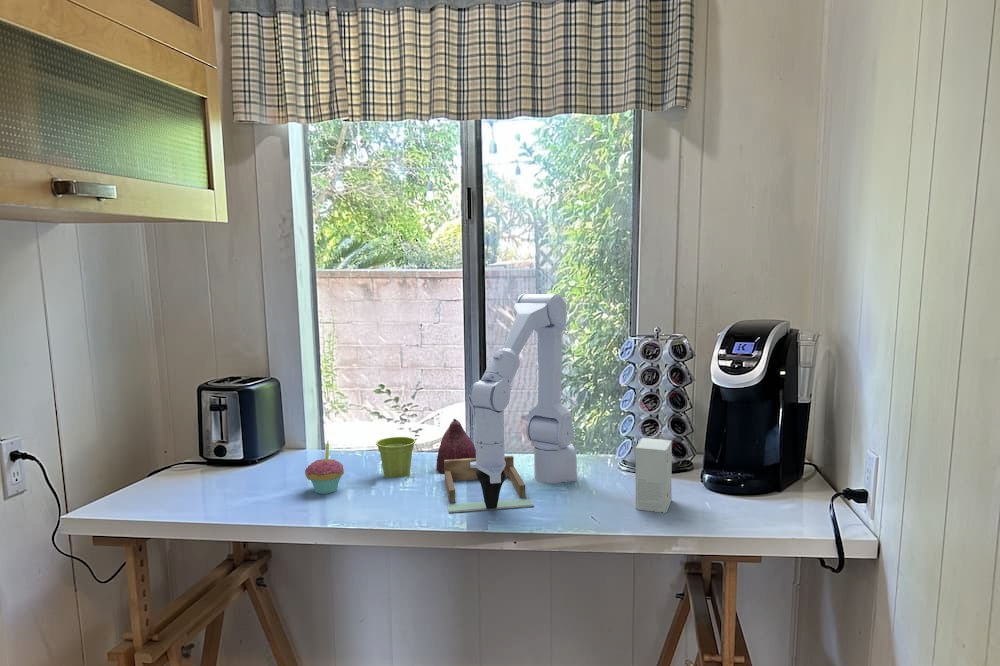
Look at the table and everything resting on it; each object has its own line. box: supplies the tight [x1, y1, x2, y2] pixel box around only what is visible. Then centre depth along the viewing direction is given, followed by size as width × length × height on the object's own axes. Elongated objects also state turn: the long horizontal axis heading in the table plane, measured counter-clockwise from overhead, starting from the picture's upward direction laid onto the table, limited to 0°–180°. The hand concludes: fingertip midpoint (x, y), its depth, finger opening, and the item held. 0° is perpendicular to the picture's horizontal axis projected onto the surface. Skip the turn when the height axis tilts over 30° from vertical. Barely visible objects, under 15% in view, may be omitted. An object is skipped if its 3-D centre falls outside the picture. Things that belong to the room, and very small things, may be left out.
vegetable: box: [435, 418, 476, 475], centre depth 154 cm, size 10×10×15 cm
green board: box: [446, 498, 535, 515], centre depth 126 cm, size 17×1×5 cm
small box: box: [634, 437, 673, 514], centre depth 128 cm, size 8×6×13 cm
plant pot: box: [375, 436, 416, 479], centre depth 150 cm, size 9×9×9 cm
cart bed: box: [444, 455, 527, 504], centre depth 136 cm, size 16×16×6 cm
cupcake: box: [304, 440, 345, 495], centre depth 141 cm, size 9×8×12 cm
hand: (491, 506), depth 125 cm, fingers closed
